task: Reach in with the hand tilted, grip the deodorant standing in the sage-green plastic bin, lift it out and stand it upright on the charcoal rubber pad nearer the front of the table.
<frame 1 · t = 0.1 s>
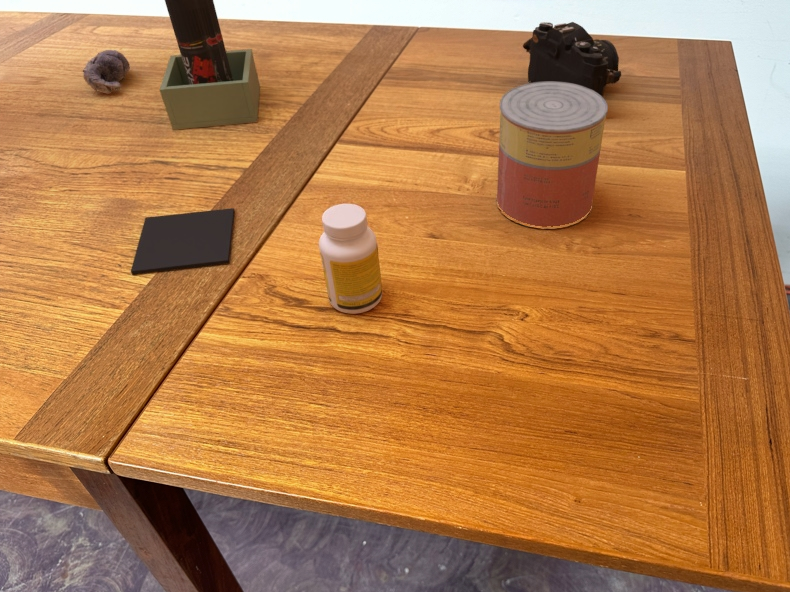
canned food: (543, 203, 78), on the table
bin: (218, 107, 97), on the table
supplement bottle: (356, 298, 67), on the table
film camera: (573, 94, 98), on the table
pad: (186, 241, 74), on the table
grey crumpled cloth: (113, 84, 104), on the table
deodorant: (217, 103, 97), point 1 cm above the table, touching bin
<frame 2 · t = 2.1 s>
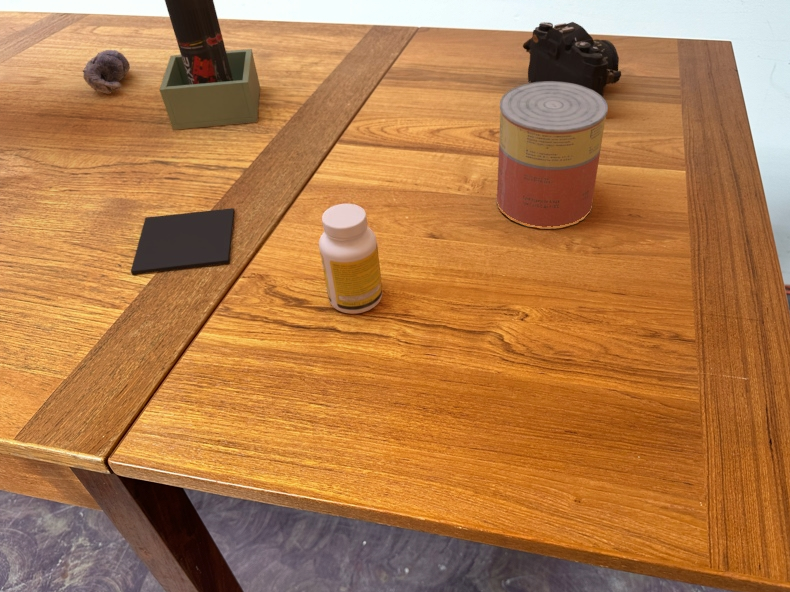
nothing on the table moved.
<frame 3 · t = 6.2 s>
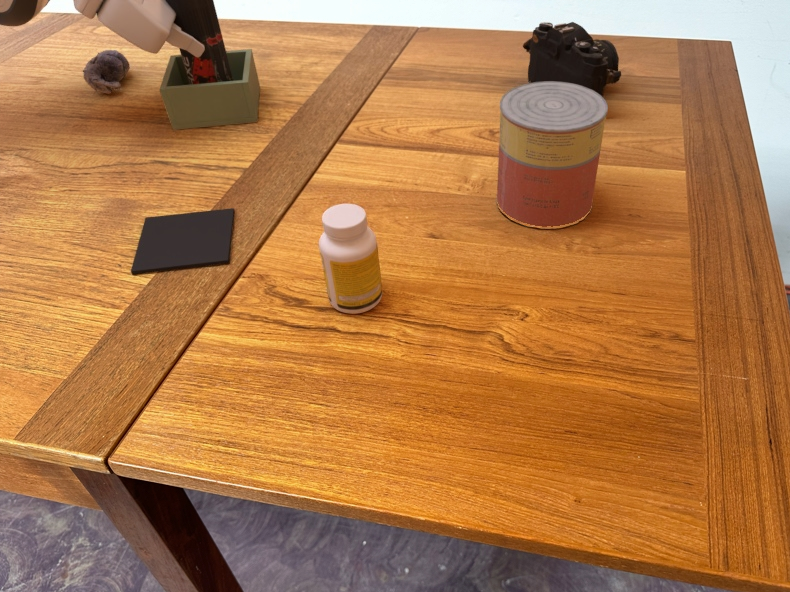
hand: (205, 41, 90), 9 cm above the table, tool tilted 45°, fingers closed on deodorant, 6 cm apart
deodorant: (217, 103, 97), point 1 cm above the table, touching bin, gripper
everything else where it was.
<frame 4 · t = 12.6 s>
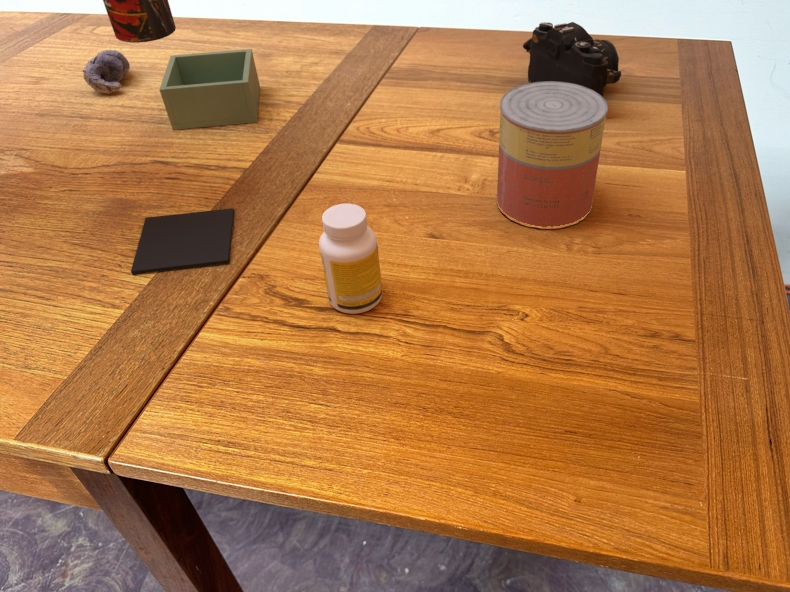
deodorant: (146, 33, 68), point 19 cm above the table, touching gripper
everything else where it was.
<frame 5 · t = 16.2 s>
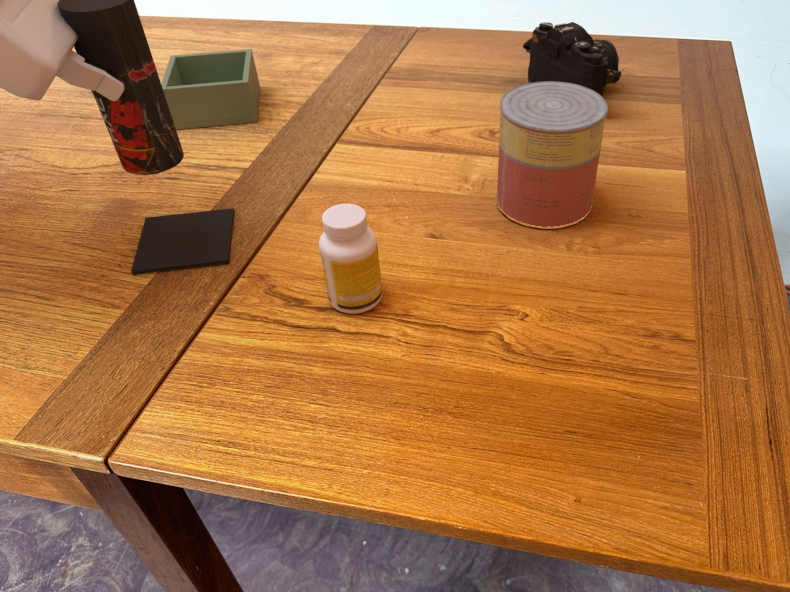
hand: (129, 75, 60), 19 cm above the table, tool tilted 45°, fingers closed on deodorant, 6 cm apart
deodorant: (153, 161, 66), point 10 cm above the table, touching gripper
everything else where it was.
when the fingers open (9 cm above the table, at t = 19.3 s): deodorant stays where it is, resting on pad.
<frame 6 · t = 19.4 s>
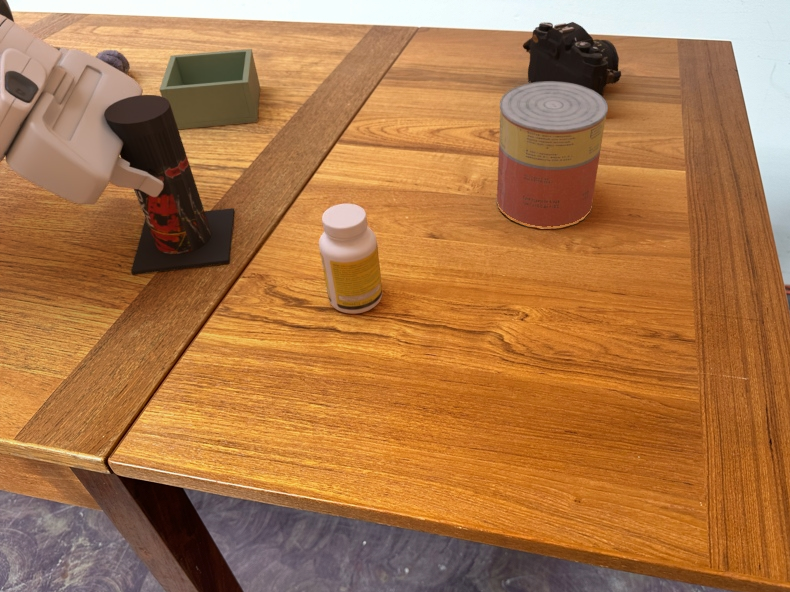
hand: (166, 169, 67), 9 cm above the table, tool tilted 45°, fingers open, 6 cm apart
deodorant: (184, 239, 73), resting on pad
everything else where it was.
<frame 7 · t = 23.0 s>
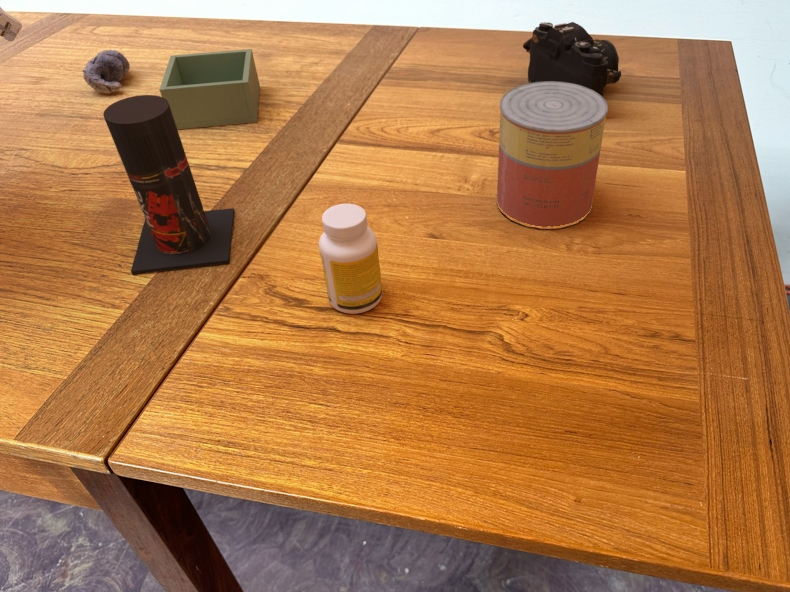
hand: (4, 52, 62), 20 cm above the table, tool tilted 45°, fingers open, 8 cm apart
nothing on the table moved.
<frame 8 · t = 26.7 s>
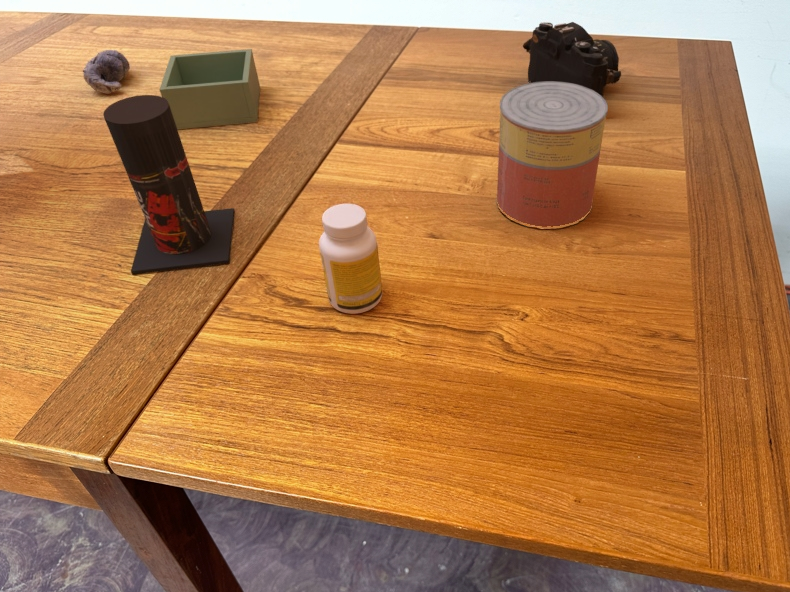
nothing on the table moved.
at the end: deodorant inside the target area on the pad (0.1 cm from its centre), point 0.3 cm above the pad's base; deodorant tilted 0°; deodorant touching pad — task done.
